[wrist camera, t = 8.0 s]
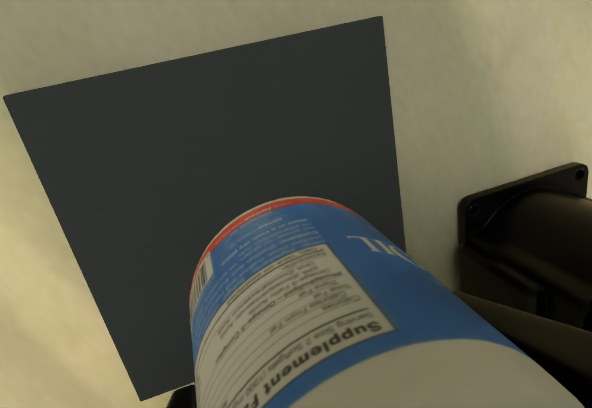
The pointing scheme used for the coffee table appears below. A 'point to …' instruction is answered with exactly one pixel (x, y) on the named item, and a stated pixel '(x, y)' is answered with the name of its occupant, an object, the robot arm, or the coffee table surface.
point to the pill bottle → (343, 323)
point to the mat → (206, 168)
